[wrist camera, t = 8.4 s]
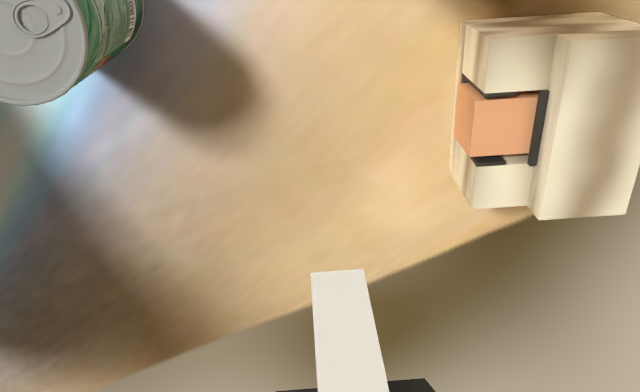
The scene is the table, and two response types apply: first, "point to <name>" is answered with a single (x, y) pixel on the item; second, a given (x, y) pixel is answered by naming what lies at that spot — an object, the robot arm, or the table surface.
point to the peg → (494, 122)
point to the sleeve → (556, 112)
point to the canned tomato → (60, 44)
